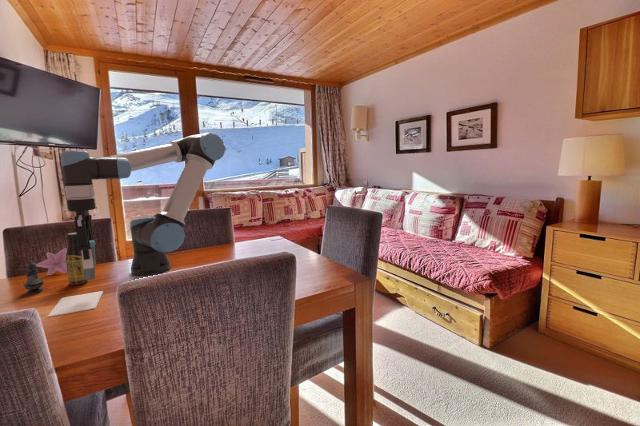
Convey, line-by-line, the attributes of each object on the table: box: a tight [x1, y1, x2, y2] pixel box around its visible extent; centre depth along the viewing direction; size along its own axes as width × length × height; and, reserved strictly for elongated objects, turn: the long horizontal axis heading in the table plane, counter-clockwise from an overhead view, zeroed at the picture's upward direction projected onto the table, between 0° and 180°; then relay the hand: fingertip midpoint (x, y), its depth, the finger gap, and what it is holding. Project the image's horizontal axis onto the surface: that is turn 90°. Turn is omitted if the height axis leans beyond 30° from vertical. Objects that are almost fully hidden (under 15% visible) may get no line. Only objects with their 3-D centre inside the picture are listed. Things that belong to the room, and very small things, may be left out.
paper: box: [46, 290, 104, 318], centre depth 106 cm, size 12×16×1 cm
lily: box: [35, 247, 68, 276], centre depth 140 cm, size 12×12×10 cm
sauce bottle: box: [66, 232, 89, 286], centre depth 124 cm, size 6×6×20 cm
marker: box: [83, 239, 96, 281], centre depth 109 cm, size 3×3×13 cm
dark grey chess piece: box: [22, 259, 46, 295], centre depth 117 cm, size 6×6×12 cm
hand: (89, 266), depth 109 cm, fingers closed on marker, 3 cm apart
